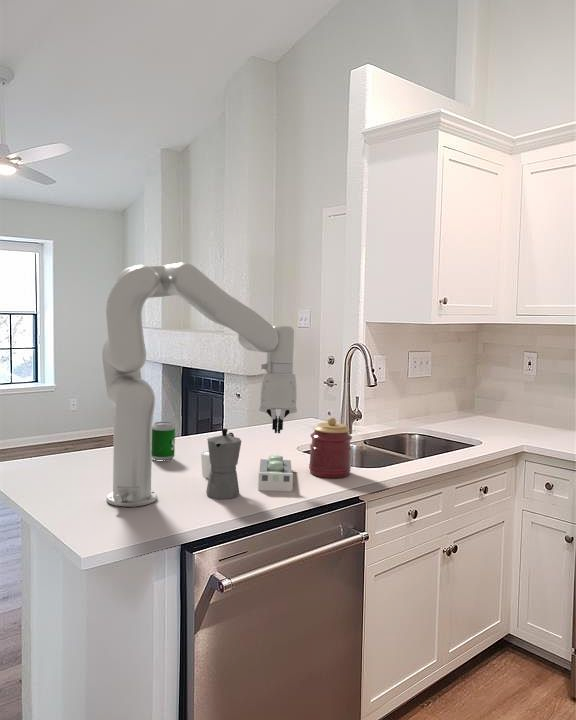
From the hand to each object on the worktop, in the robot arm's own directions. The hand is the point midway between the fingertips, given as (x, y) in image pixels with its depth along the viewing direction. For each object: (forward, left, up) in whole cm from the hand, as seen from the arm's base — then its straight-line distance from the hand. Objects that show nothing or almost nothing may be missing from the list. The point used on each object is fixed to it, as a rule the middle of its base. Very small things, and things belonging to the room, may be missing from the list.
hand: (277, 432), depth 175 cm
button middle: (+5, 0, -13) cm, 14 cm away
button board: (+5, 0, -15) cm, 16 cm away
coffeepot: (-10, +14, -15) cm, 23 cm away
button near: (-2, 0, -14) cm, 15 cm away
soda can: (+25, +37, -15) cm, 47 cm away
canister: (+14, -17, -15) cm, 27 cm away
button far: (+12, 0, -13) cm, 18 cm away
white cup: (+7, +19, -15) cm, 25 cm away
